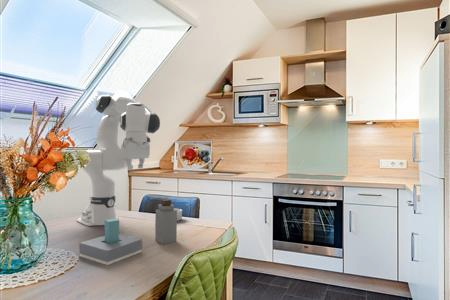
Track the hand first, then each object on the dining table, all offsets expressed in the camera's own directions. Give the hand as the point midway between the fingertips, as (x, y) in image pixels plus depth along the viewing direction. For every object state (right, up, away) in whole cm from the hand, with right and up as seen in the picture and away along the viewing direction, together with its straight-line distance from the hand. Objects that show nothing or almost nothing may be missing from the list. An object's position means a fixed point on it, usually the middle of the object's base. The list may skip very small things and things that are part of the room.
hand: (135, 168), depth 139 cm
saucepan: (+10, -31, +38) cm, 50 cm away
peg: (-3, -30, -21) cm, 37 cm away
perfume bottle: (+15, -32, -4) cm, 35 cm away
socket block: (-3, -31, -22) cm, 38 cm away
